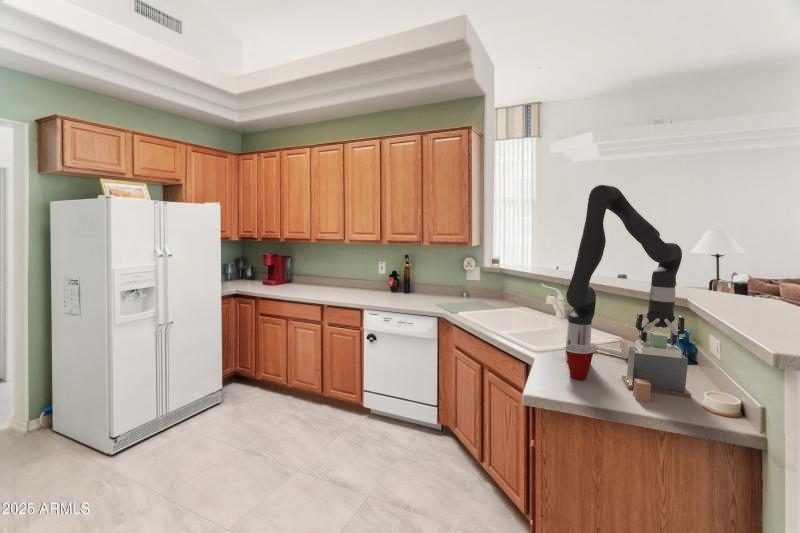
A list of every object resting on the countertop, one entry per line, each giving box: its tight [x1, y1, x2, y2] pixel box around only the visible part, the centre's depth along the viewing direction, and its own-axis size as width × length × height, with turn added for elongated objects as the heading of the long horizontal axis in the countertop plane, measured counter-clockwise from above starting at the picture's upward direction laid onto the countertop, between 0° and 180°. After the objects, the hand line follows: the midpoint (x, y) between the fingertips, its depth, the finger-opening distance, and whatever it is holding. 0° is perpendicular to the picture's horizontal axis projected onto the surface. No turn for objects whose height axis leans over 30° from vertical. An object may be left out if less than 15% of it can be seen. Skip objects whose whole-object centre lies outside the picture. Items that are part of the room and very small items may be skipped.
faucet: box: [590, 336, 629, 360], centre depth 172 cm, size 4×18×10 cm, turn 43°
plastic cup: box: [563, 345, 595, 381], centre depth 143 cm, size 11×11×12 cm
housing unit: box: [621, 340, 692, 398], centre depth 135 cm, size 19×10×16 cm, turn 71°
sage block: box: [649, 331, 668, 349], centre depth 134 cm, size 4×4×6 cm
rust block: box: [632, 379, 652, 403], centre depth 126 cm, size 4×4×6 cm
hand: (658, 343), depth 134 cm, fingers open, 8 cm apart
